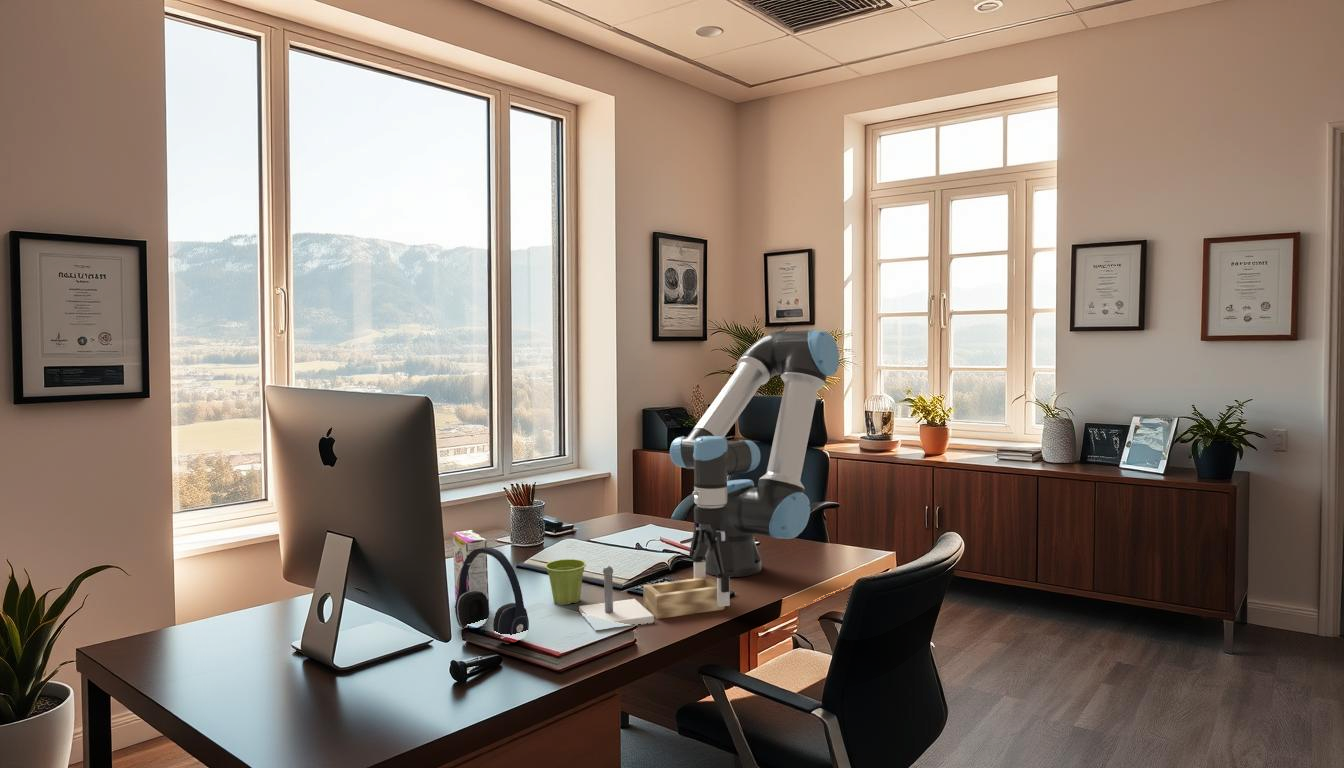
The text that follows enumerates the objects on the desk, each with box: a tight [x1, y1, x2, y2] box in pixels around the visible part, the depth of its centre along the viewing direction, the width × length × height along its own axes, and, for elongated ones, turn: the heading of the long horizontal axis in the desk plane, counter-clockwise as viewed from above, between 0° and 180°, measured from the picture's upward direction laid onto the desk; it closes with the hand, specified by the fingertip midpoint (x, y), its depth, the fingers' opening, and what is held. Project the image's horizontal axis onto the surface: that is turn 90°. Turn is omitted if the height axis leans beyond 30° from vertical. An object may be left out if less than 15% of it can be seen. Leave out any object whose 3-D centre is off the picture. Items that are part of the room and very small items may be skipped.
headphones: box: [454, 546, 530, 635], centre depth 181 cm, size 20×7×18 cm, turn 47°
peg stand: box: [578, 565, 655, 626], centre depth 191 cm, size 13×13×12 cm
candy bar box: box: [452, 529, 490, 606], centre depth 202 cm, size 11×5×16 cm, turn 31°
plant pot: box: [544, 558, 587, 606], centre depth 204 cm, size 9×9×9 cm
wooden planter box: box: [642, 576, 726, 620], centre depth 197 cm, size 16×9×5 cm, turn 111°
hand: (711, 597), depth 199 cm, fingers open, 13 cm apart
